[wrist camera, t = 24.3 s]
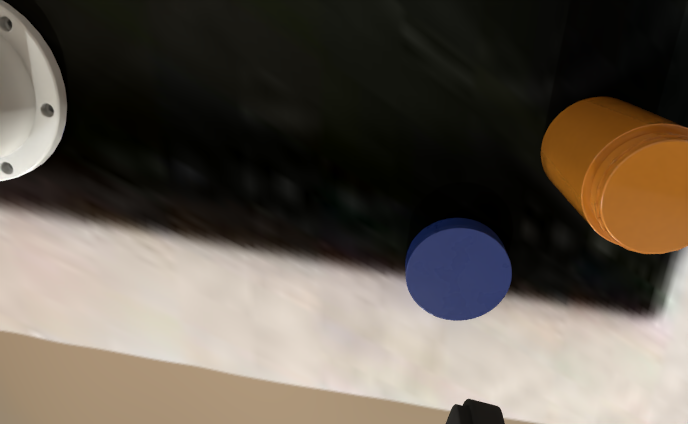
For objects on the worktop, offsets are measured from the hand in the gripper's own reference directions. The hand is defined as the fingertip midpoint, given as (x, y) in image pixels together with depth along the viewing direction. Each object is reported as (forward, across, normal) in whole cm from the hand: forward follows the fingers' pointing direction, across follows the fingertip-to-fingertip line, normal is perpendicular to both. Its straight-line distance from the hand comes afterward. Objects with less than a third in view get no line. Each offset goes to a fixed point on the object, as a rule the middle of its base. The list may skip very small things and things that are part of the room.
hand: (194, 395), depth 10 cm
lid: (+25, -10, +8) cm, 28 cm away
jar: (+26, -16, -2) cm, 31 cm away
